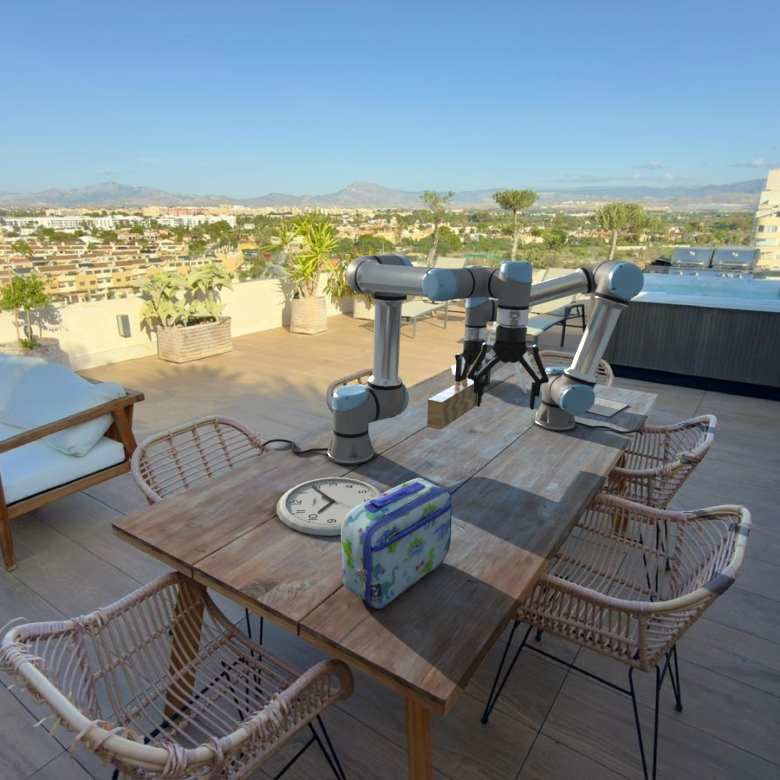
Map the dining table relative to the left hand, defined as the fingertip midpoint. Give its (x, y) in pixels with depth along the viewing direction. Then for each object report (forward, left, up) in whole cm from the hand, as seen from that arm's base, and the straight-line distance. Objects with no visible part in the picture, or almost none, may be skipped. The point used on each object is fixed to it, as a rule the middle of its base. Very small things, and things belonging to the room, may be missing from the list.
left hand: (504, 406), depth 135 cm
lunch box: (-7, -42, -29) cm, 51 cm away
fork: (-15, -7, -29) cm, 33 cm away
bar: (-26, +30, -16) cm, 43 cm away
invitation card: (+9, +106, -29) cm, 110 cm away
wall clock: (-38, -24, -29) cm, 54 cm away
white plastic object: (-41, +106, -29) cm, 117 cm away
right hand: (-26, +42, -16) cm, 52 cm away
